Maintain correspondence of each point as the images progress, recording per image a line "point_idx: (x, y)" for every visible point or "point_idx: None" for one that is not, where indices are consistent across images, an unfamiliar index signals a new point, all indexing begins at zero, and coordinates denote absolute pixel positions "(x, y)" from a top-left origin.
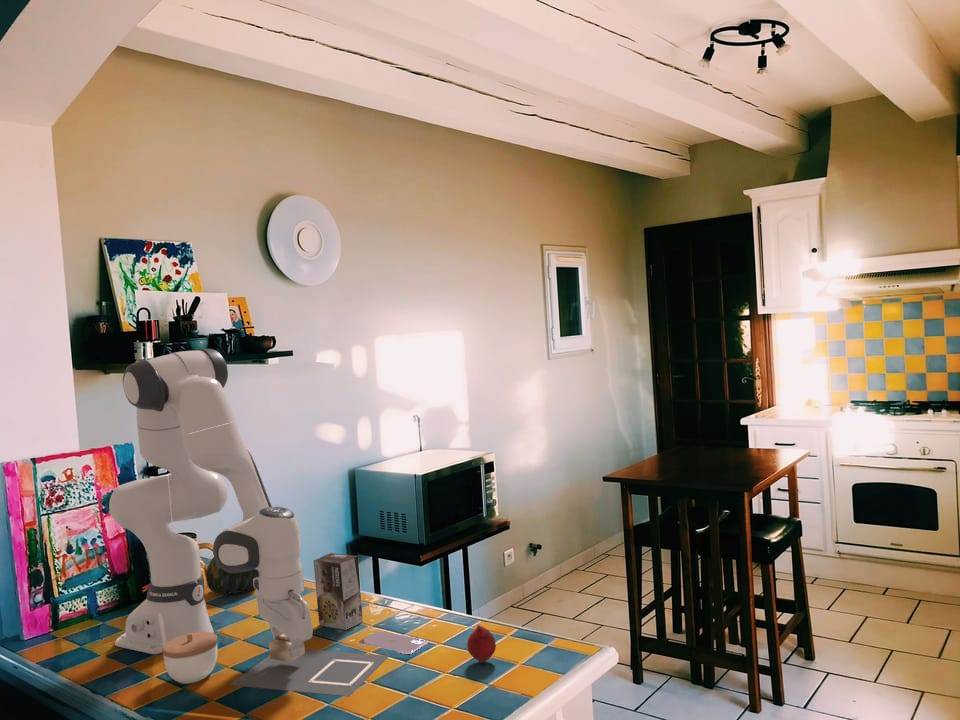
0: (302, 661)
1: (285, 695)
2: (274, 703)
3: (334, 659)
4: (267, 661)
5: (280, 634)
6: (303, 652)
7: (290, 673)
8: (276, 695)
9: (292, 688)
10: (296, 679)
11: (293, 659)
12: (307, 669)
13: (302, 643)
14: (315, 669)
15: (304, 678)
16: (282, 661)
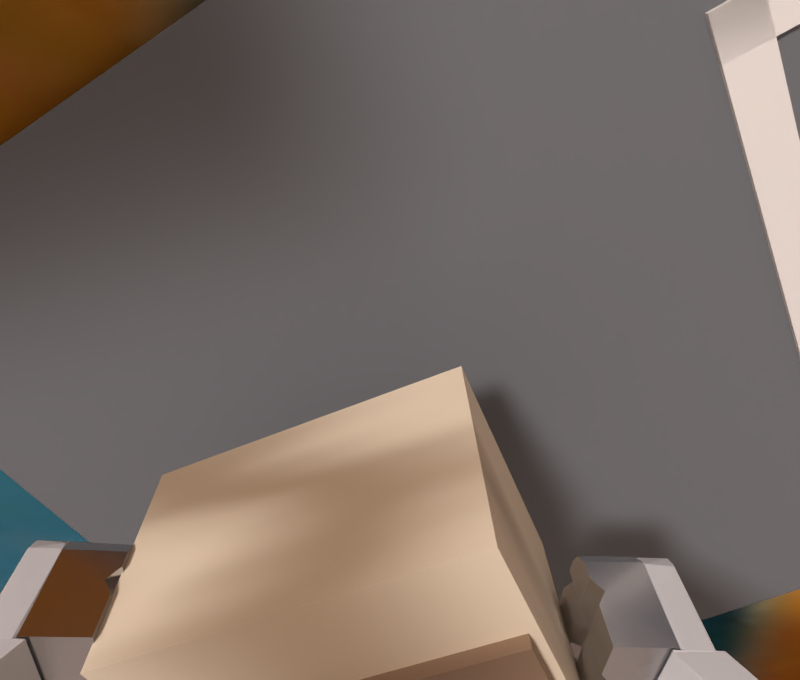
0: (387, 308)
1: (777, 604)
2: (790, 667)
3: (724, 14)
4: (118, 505)
5: (29, 660)
6: (474, 400)
7: (536, 486)
8: (714, 631)
9: (782, 572)
10: (687, 502)
11: (535, 530)
12: (614, 365)
13: (498, 499)
14: (698, 317)
15: (742, 459)
16: (220, 429)
